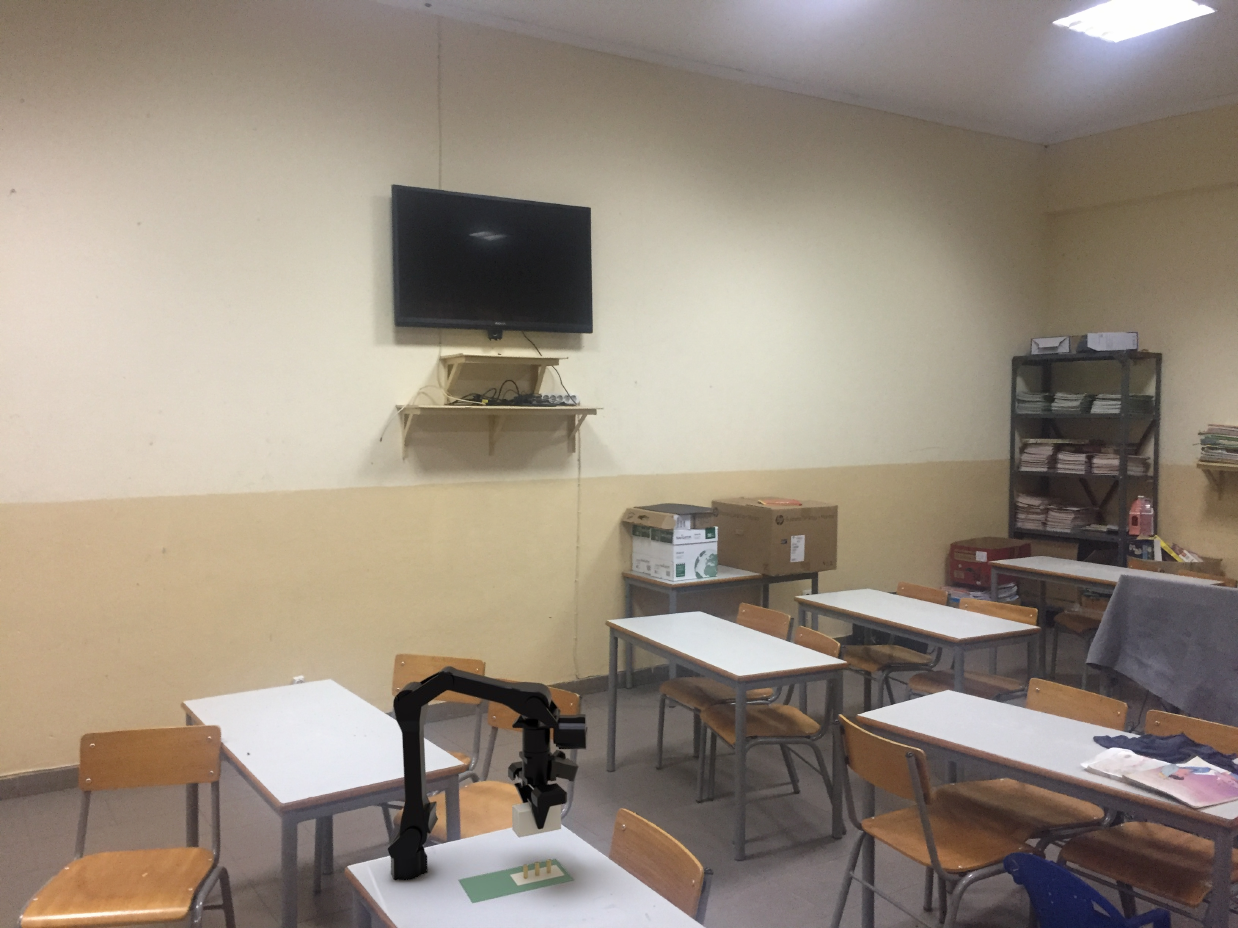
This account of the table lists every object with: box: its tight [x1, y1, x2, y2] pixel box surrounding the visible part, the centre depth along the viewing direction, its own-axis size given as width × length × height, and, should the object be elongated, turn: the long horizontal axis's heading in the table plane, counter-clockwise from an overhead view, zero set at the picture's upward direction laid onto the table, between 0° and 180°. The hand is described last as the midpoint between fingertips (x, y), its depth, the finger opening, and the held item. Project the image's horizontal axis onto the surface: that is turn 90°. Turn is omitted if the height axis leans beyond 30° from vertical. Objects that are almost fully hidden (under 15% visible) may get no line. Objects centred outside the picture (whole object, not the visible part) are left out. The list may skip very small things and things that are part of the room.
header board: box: [457, 858, 575, 904], centre depth 185 cm, size 21×10×4 cm, turn 115°
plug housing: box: [511, 802, 562, 838], centre depth 186 cm, size 9×4×5 cm, turn 115°
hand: (536, 824), depth 186 cm, fingers closed on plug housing, 4 cm apart
